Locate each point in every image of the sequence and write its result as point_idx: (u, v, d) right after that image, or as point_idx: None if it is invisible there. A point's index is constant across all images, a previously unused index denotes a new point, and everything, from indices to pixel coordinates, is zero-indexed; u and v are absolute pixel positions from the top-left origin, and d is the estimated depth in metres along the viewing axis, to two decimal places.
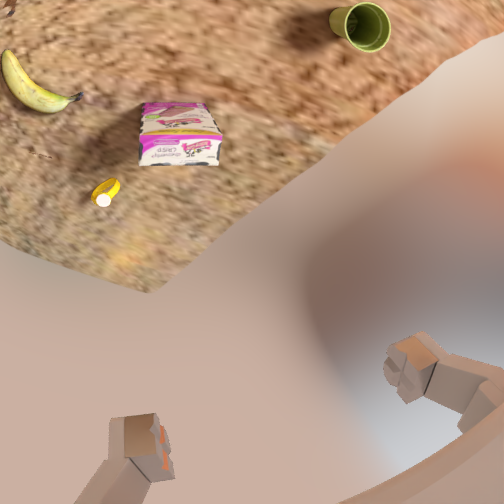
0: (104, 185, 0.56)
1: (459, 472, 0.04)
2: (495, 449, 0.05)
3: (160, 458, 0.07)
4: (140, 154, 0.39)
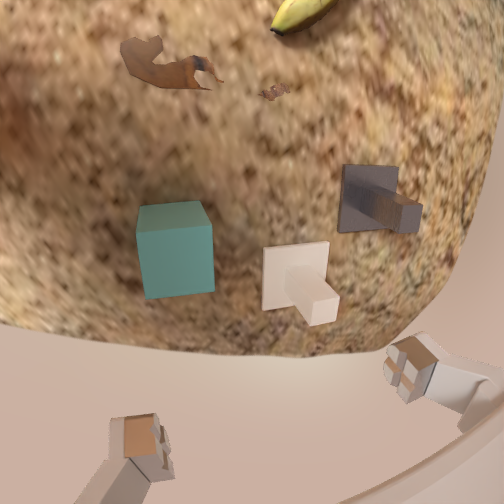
0: None
1: (459, 472, 0.04)
2: (495, 449, 0.05)
3: (160, 458, 0.07)
4: None
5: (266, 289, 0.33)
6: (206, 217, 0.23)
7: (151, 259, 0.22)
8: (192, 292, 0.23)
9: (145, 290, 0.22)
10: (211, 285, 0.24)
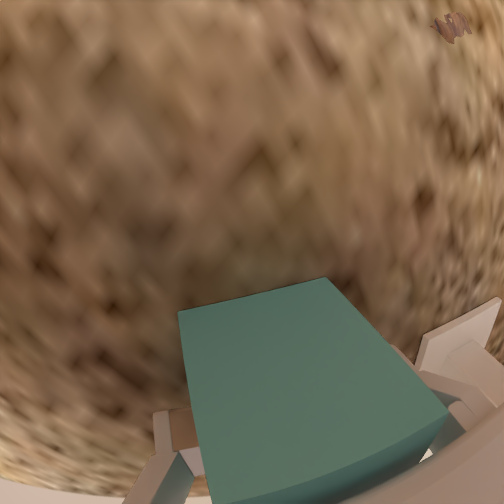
0: None
1: (459, 472, 0.04)
2: (495, 449, 0.05)
3: None
4: None
5: None
6: (405, 367, 0.07)
7: None
8: None
9: None
10: None
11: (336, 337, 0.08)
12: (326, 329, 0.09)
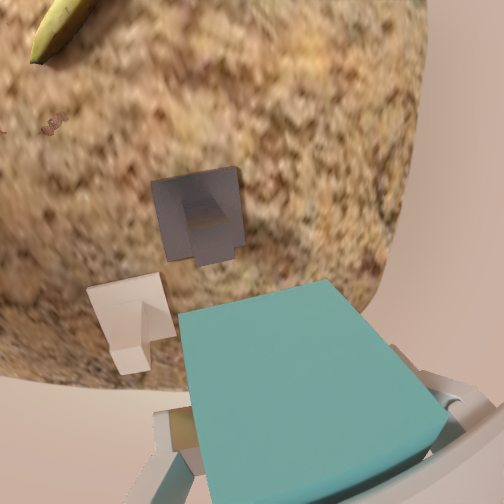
0: None
1: (459, 472, 0.04)
2: (495, 449, 0.05)
3: None
4: None
5: (104, 328, 0.28)
6: (406, 370, 0.07)
7: None
8: None
9: None
10: None
11: (337, 340, 0.08)
12: (327, 332, 0.09)
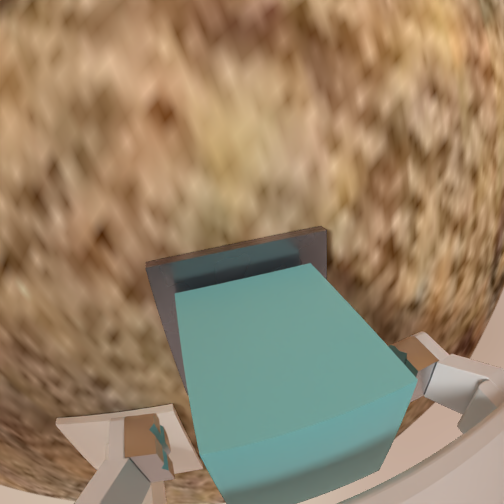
0: None
1: (459, 472, 0.04)
2: (495, 449, 0.05)
3: (160, 458, 0.07)
4: None
5: (94, 463, 0.15)
6: (377, 340, 0.08)
7: (250, 482, 0.07)
8: (337, 487, 0.08)
9: None
10: (376, 466, 0.08)
11: (316, 314, 0.09)
12: (307, 307, 0.10)
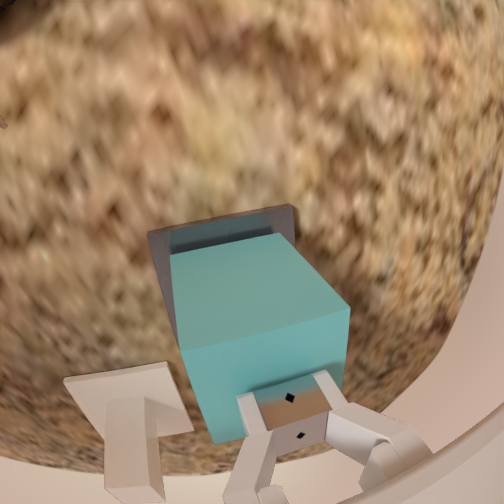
0: None
1: (459, 472, 0.04)
2: (495, 449, 0.05)
3: (299, 425, 0.08)
4: None
5: (95, 424, 0.18)
6: (322, 281, 0.11)
7: (221, 391, 0.10)
8: None
9: (213, 434, 0.10)
10: None
11: (277, 265, 0.12)
12: (271, 261, 0.13)
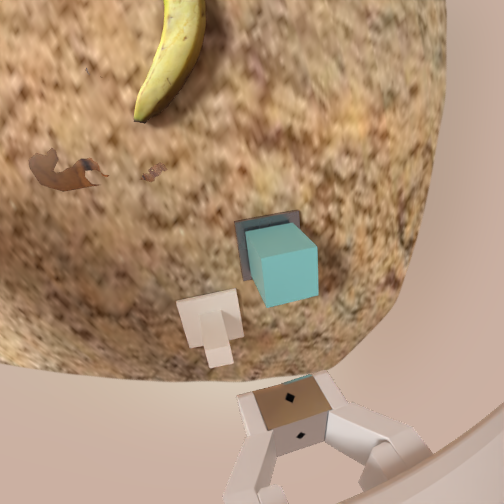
0: None
1: (459, 472, 0.04)
2: (495, 449, 0.05)
3: (299, 425, 0.08)
4: None
5: (187, 332, 0.38)
6: (308, 239, 0.30)
7: (272, 276, 0.29)
8: (302, 297, 0.30)
9: (267, 300, 0.30)
10: (316, 290, 0.31)
11: (292, 234, 0.32)
12: (289, 233, 0.32)
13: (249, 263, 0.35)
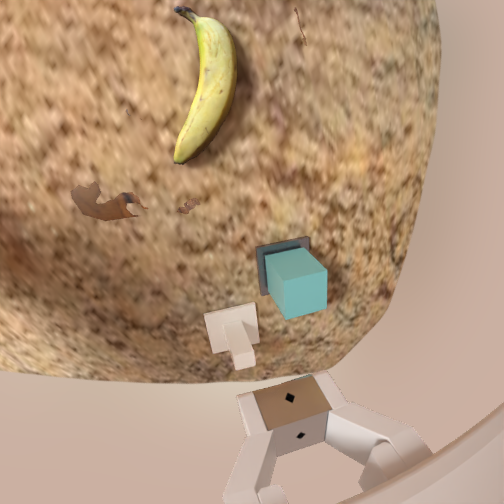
0: None
1: (459, 472, 0.04)
2: (495, 449, 0.05)
3: (299, 425, 0.08)
4: None
5: (211, 340, 0.44)
6: (319, 263, 0.37)
7: (291, 295, 0.35)
8: (313, 311, 0.37)
9: (286, 314, 0.36)
10: (324, 305, 0.37)
11: (305, 259, 0.38)
12: (302, 257, 0.38)
13: (267, 281, 0.42)
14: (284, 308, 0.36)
